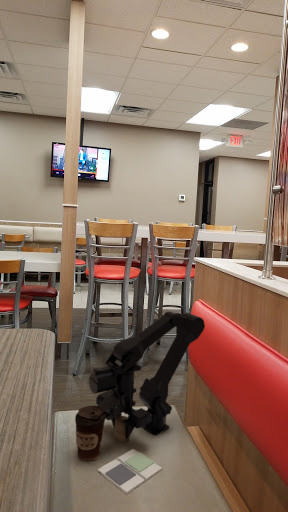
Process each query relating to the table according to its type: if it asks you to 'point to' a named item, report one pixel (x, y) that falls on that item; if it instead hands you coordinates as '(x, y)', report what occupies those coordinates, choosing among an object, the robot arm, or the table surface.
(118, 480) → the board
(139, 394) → the robot arm
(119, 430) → the brown tapered cylinder
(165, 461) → the table surface
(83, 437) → the coffee cup
